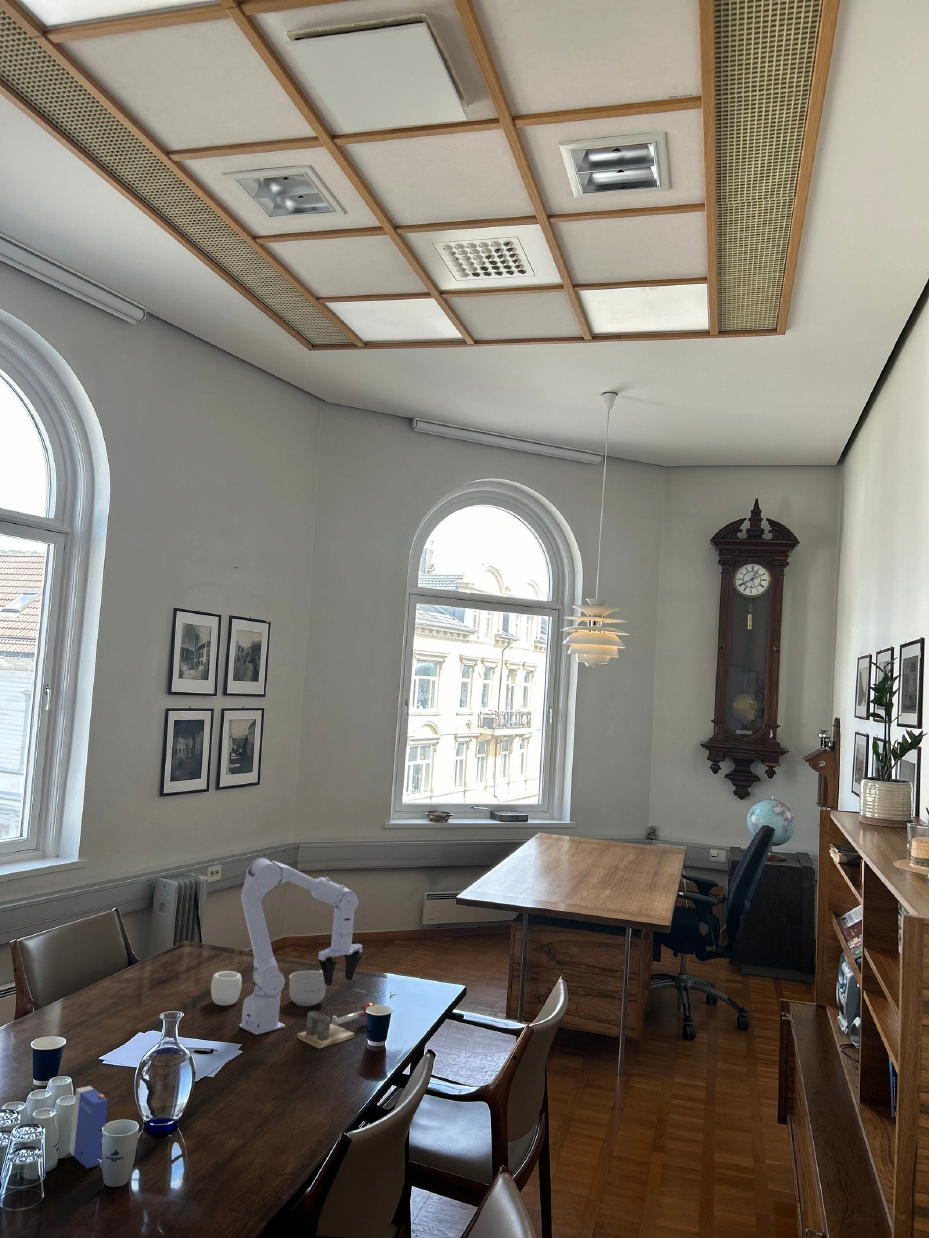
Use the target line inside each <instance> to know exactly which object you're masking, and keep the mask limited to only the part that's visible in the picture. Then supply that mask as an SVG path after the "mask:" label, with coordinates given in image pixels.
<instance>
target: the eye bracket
mask: <svg viewBox="0 0 929 1238" xmlns="http://www.w3.org/2000/svg"><path fill="white" fill-rule="evenodd" d="M306 1015H307V1016H306V1017H307V1019H306V1030H305V1031H302V1032H298V1033H297V1035H296V1038H297V1039H298V1040H301V1041H302V1042H305V1043H308V1044H309V1045H311V1046H313V1047H315V1048H318V1049H322V1048H325V1047H328V1046H331V1045H335V1044H338V1043H341V1042H344V1041H347V1040H352V1039H353V1038H355V1032H353V1031H350V1030H348V1029H345V1028H344V1027H341V1026H338V1025H333V1024H332V1023H331V1017H330V1016H328V1015H327V1014H323V1013H321V1012H319V1011H317V1010H312V1011H308V1012H307V1014H306Z"/></svg>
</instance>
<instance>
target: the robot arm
mask: <svg viewBox="0 0 929 1238" xmlns="http://www.w3.org/2000/svg"><path fill="white" fill-rule="evenodd" d="M245 873H246V875H245V879H244V882H243V883H244V884H243V886H242V889H241V894H240V900H241V904H242V909H243V914H244V918H245V923H246V927H247V931H248V935H249V939H250V945H251V948H252V953H253V958H254V959H253V962H252V964H253V973H252V979H253V981H254V984H255V987H254V989H253V993H252V994H250V995H248V996H247V997H245V998H244V1000H243V1004H242V1009H241V1010H242V1013H241V1023H240V1024H239V1027H240V1028H242V1029H244V1030H246V1031H248V1032H250V1033H253V1034H254V1035H260V1034H264V1033H268V1032H271V1031H275V1030H278V1029H282V1028H285V1027H286V1024H284V1023H282V1022H280V1021H279V1019H280V1006H281V995H282V990H283V989H284V987H285V980H286V979H285V977H284V975H283V973H282V972H280V970H279V967H278V963H277V961H276V959H275V956H274V953H273V949H272V948H273V947H272V943H271V939H270V935H269V930H268V926H267V921H266V917H265V912H264V908H263V904H262V899H263V898H264V897H265V896H266V894H267V893H269V892H270V890H272V889H273V888H274V887H276V886H277V885H278V884H280V885H282V884H285V883H287V882H290V883H292V884H294V885H296V886H300V887H302V888H304V889H306V890H309V891H310V893H311V896H312V897H313V898H315V899H317V900H319V901H322V902H324V903H326V904H328V905H330V906H333V907H334V910H333V920H332V932H331V942H330V943H331V944H330V945H331V946H330V947H328V948H326V949H323V950H321V951H318V957H317V958H318V959H317V961H318V963H319V965H320V968H321V970H322V971H323V976H324V982H325V984H326V986H328V987H330V986H332V984H333V977H334V971H335V968H336V965H337V961H336V960H334V959H333V958H337V957H342V956H343V957H344V963H345V971H344V976H345V977H344V978H345V979H346V980H348V981H353V978H354V974H355V972H356V970H357V966H358V965H359V963H360V962H361V960H362V959H363V954H361V953H362V952H363V945H362V944H360V943H354V944H353V943H352V942H353V932H354V921H355V920H354V918H355V910H357V908H358V906H359V903H360V902H359V900H358V896H357V894H356V893H355V892H354V891H352V890H351V889H349V888H348V887H346V886H345V885H344V884H342V883H341V884H338V883H335V882H333V881H331V880H332V878H329V877H328V876H325V878H324V877H322V876H321V877H317V878H313V877H311V876H309V875H307V874H305V873H303V872H300V871H299V870H297V869H295V868H293V867H291V866H289V865H287V864H284V863H281V862H278V861H276V860H275V861H274V860H269V859H268V858H266V857H259V858H256V859H255V860H253V861H252V863H250V865H249V866H248V868H247V869H246V872H245Z"/></svg>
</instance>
